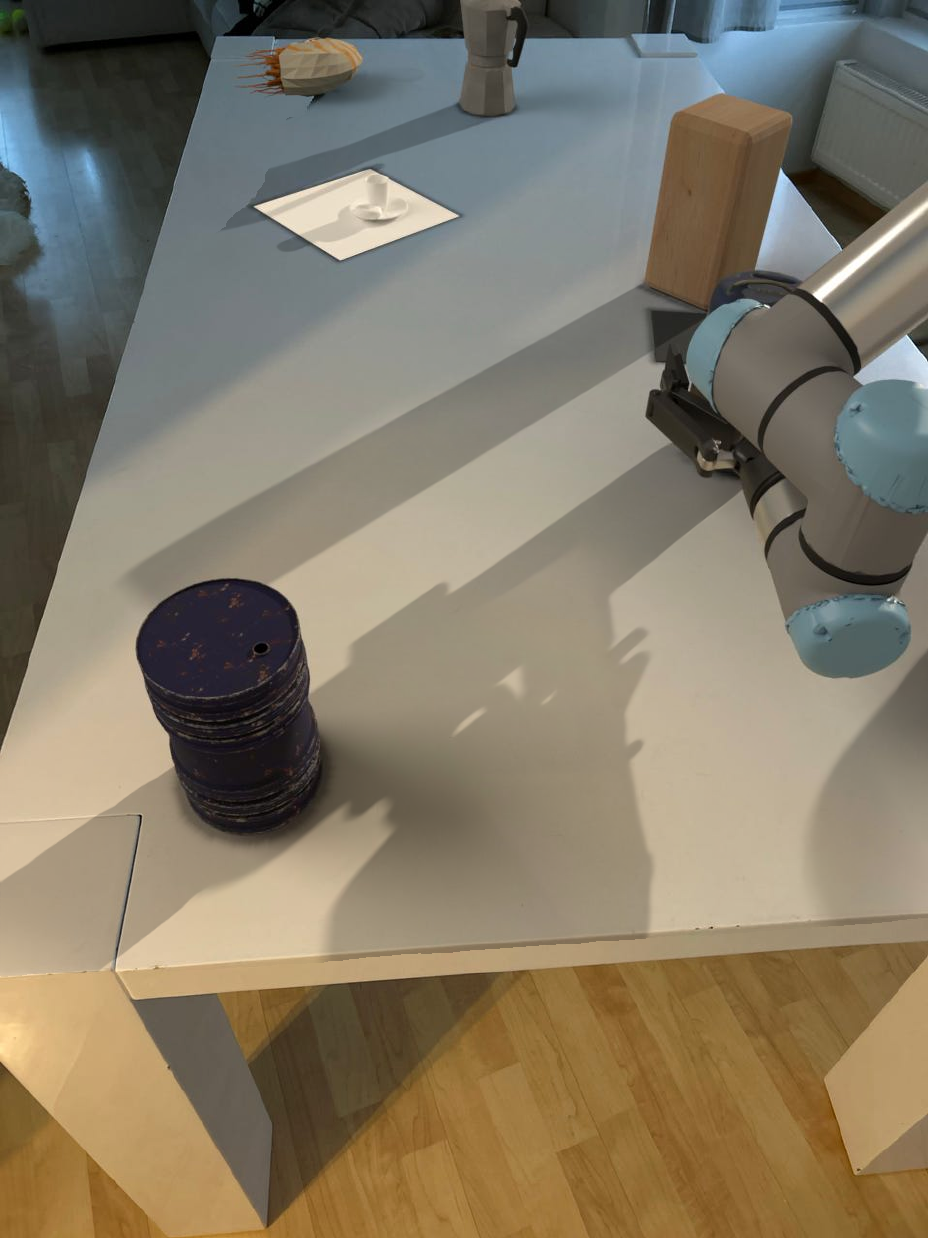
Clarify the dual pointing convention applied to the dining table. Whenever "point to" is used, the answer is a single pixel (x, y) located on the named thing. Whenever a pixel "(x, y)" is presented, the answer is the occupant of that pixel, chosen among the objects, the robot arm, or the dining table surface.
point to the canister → (749, 297)
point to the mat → (674, 331)
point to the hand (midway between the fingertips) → (743, 356)
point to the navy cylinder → (234, 702)
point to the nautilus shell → (308, 67)
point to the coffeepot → (491, 54)
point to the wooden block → (715, 194)
